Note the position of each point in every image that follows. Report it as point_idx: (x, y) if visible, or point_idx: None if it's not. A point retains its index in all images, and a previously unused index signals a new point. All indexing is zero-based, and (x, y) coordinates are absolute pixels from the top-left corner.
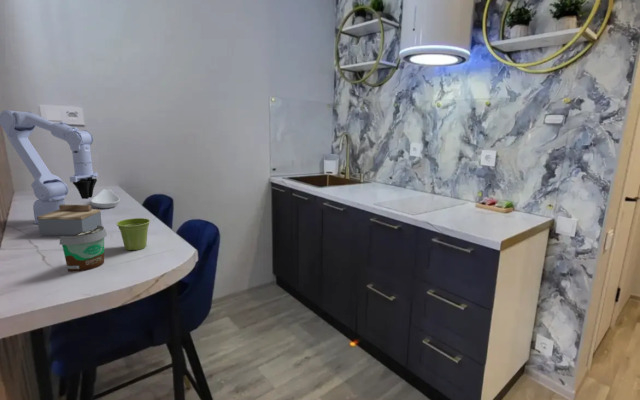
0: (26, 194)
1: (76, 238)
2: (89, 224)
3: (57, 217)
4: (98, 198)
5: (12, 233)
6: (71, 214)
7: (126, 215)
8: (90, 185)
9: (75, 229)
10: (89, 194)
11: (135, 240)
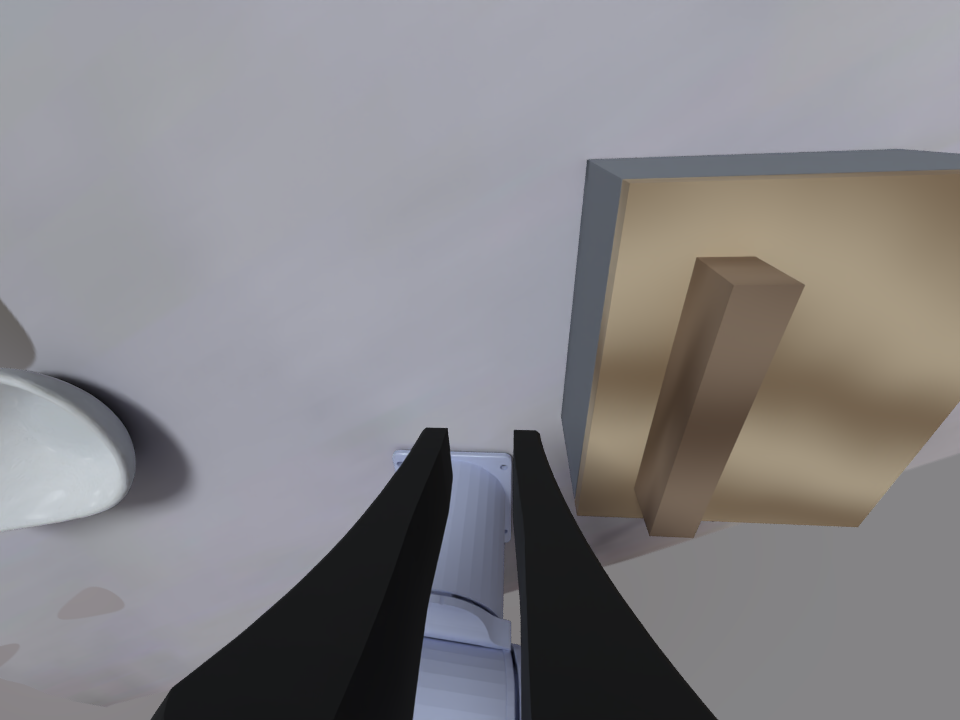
0: (131, 685)
1: None
2: (841, 160)
3: (946, 412)
4: (31, 501)
5: None
6: (860, 359)
7: (172, 151)
8: (393, 617)
9: None
10: (439, 475)
11: None
